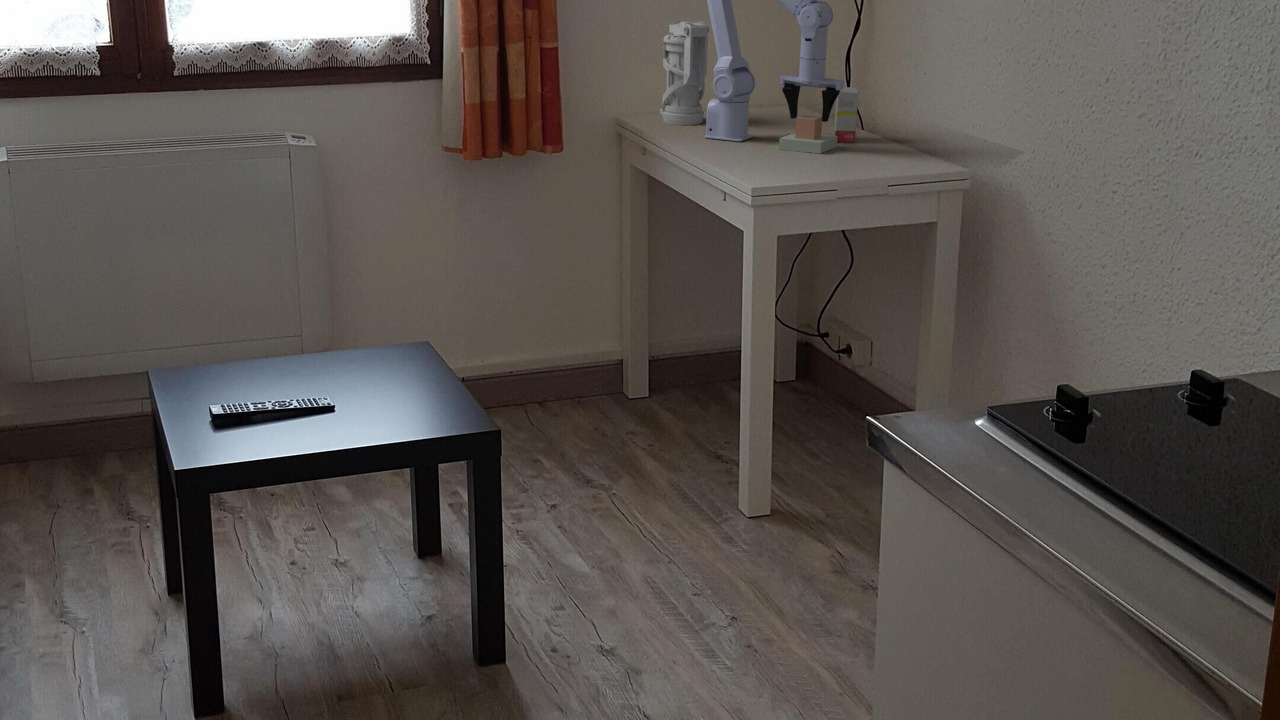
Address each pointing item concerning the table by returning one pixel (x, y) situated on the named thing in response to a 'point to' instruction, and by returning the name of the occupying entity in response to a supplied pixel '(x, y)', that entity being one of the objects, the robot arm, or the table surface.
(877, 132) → the table surface
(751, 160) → the table surface
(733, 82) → the robot arm
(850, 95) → the ink box
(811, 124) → the terracotta cube
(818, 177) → the table surface
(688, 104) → the lantern
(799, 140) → the sage slab
